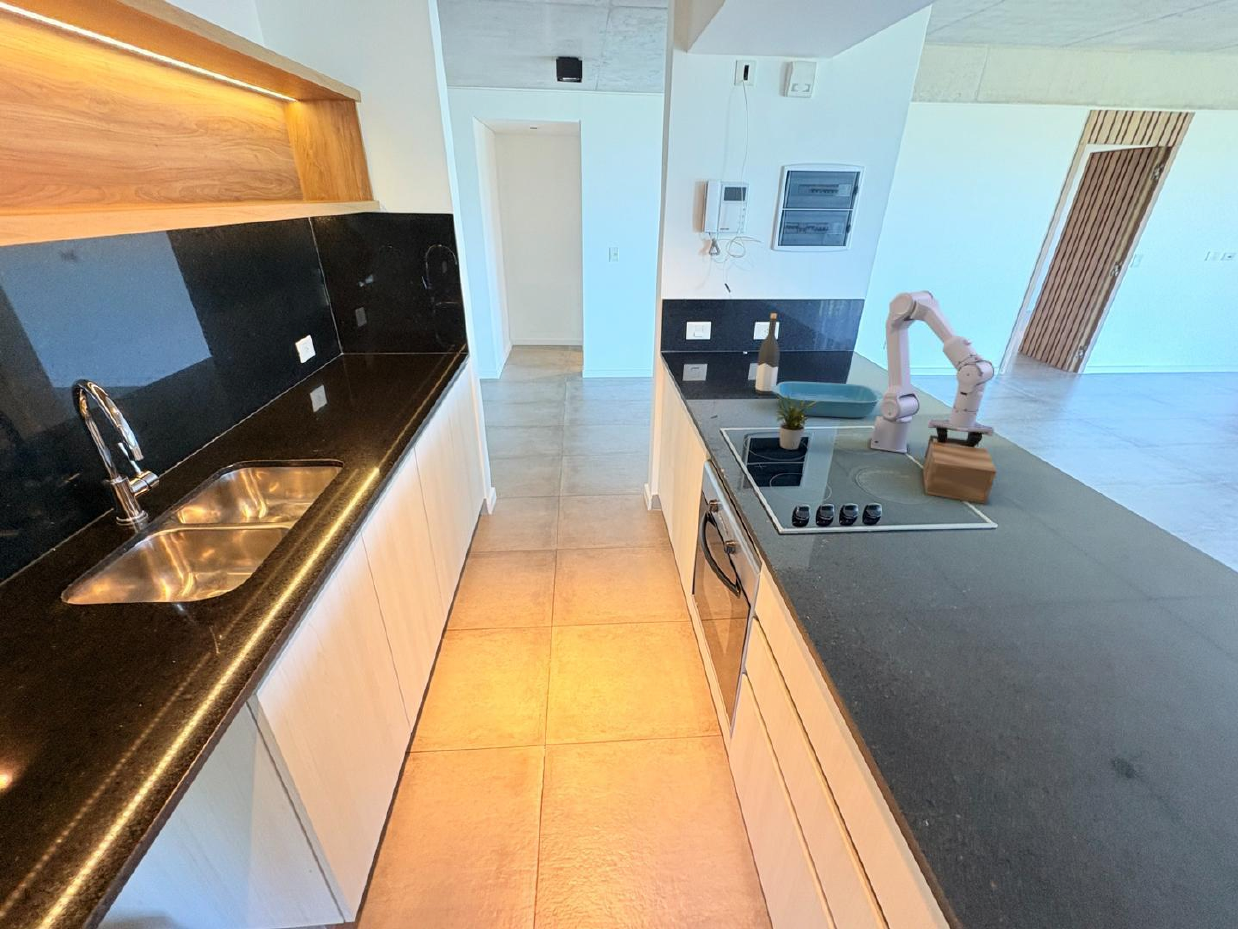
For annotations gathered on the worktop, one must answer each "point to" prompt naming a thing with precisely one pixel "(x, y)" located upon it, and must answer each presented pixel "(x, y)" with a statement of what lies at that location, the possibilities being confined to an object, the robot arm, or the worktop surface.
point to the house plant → (792, 424)
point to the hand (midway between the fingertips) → (951, 456)
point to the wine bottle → (768, 361)
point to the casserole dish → (829, 398)
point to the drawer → (947, 441)
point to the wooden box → (958, 472)
